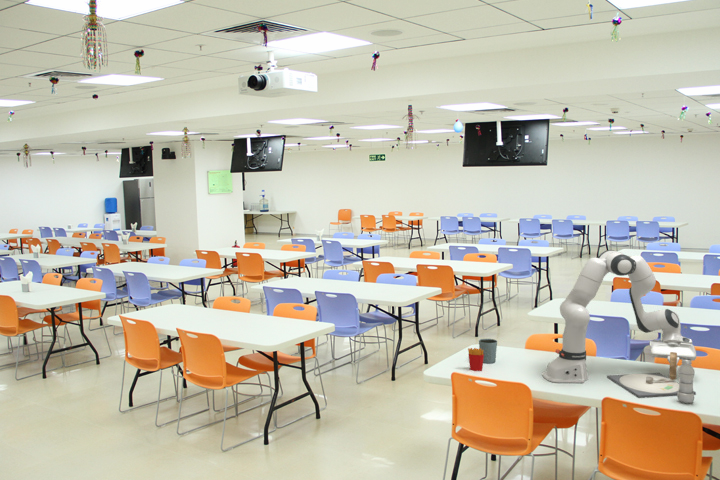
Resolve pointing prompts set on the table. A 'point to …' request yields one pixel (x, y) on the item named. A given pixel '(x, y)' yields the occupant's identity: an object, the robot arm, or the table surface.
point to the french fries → (476, 359)
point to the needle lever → (672, 370)
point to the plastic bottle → (686, 381)
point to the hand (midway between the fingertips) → (673, 365)
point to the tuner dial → (646, 385)
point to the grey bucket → (488, 350)
